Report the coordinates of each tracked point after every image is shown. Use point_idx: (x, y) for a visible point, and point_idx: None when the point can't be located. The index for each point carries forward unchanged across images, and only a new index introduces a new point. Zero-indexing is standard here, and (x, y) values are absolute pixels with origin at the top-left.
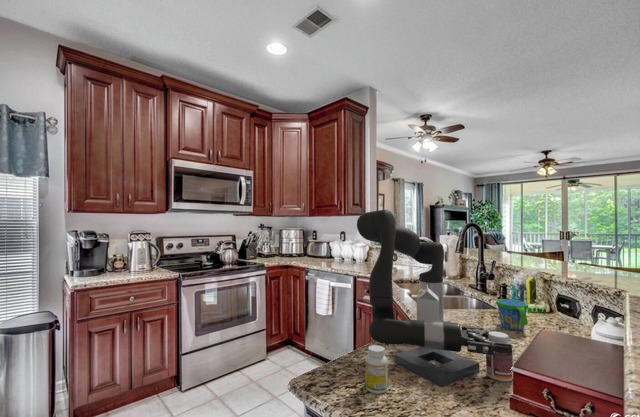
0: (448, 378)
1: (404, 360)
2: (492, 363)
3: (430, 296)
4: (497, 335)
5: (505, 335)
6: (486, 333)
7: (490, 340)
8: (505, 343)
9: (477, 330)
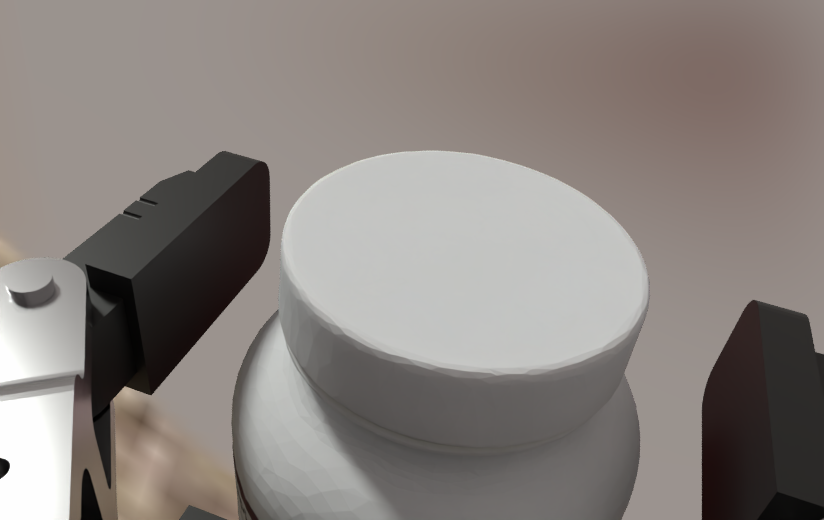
0: None
1: None
2: None
3: None
4: (549, 284)
5: (519, 187)
6: (95, 327)
7: (441, 456)
8: (787, 351)
9: (54, 485)
